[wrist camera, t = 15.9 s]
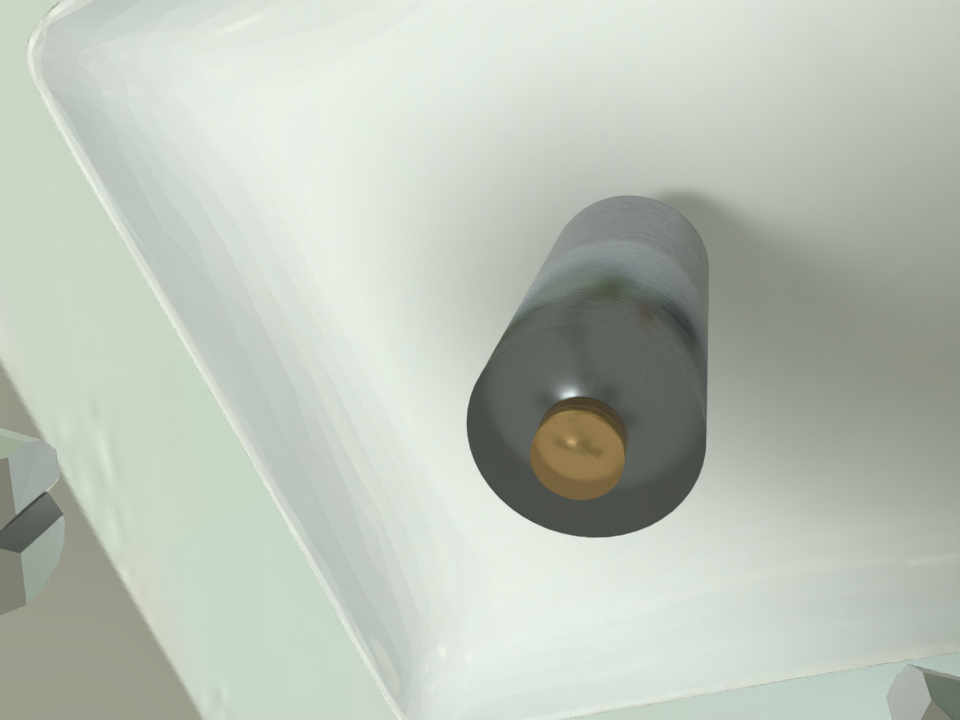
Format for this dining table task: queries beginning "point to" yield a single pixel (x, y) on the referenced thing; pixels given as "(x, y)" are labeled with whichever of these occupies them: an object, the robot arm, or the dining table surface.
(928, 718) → the robot arm
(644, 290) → the cell
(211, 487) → the dining table surface
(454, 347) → the salad plate
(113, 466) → the dining table surface
